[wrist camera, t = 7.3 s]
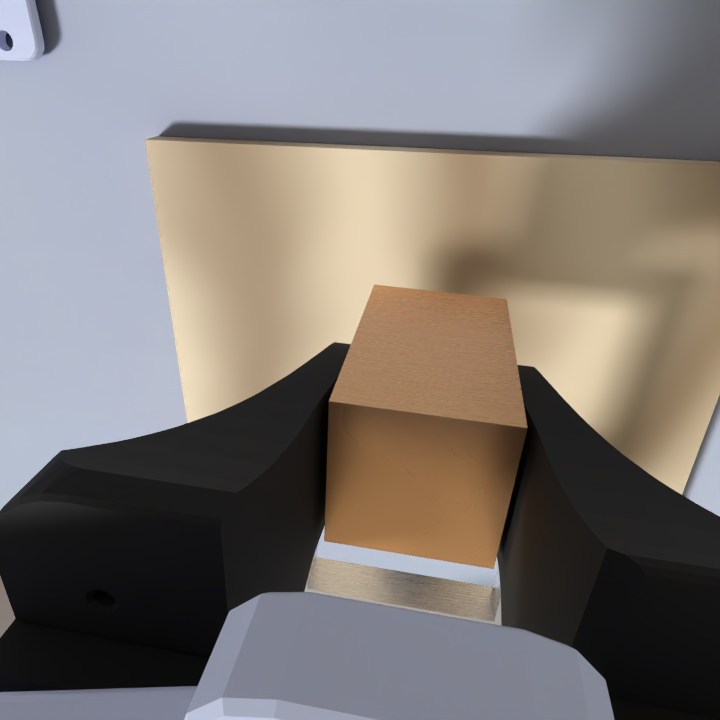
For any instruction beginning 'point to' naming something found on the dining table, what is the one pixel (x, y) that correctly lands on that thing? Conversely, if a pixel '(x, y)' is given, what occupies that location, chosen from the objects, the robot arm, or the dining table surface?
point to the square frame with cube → (423, 449)
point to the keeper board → (452, 269)
